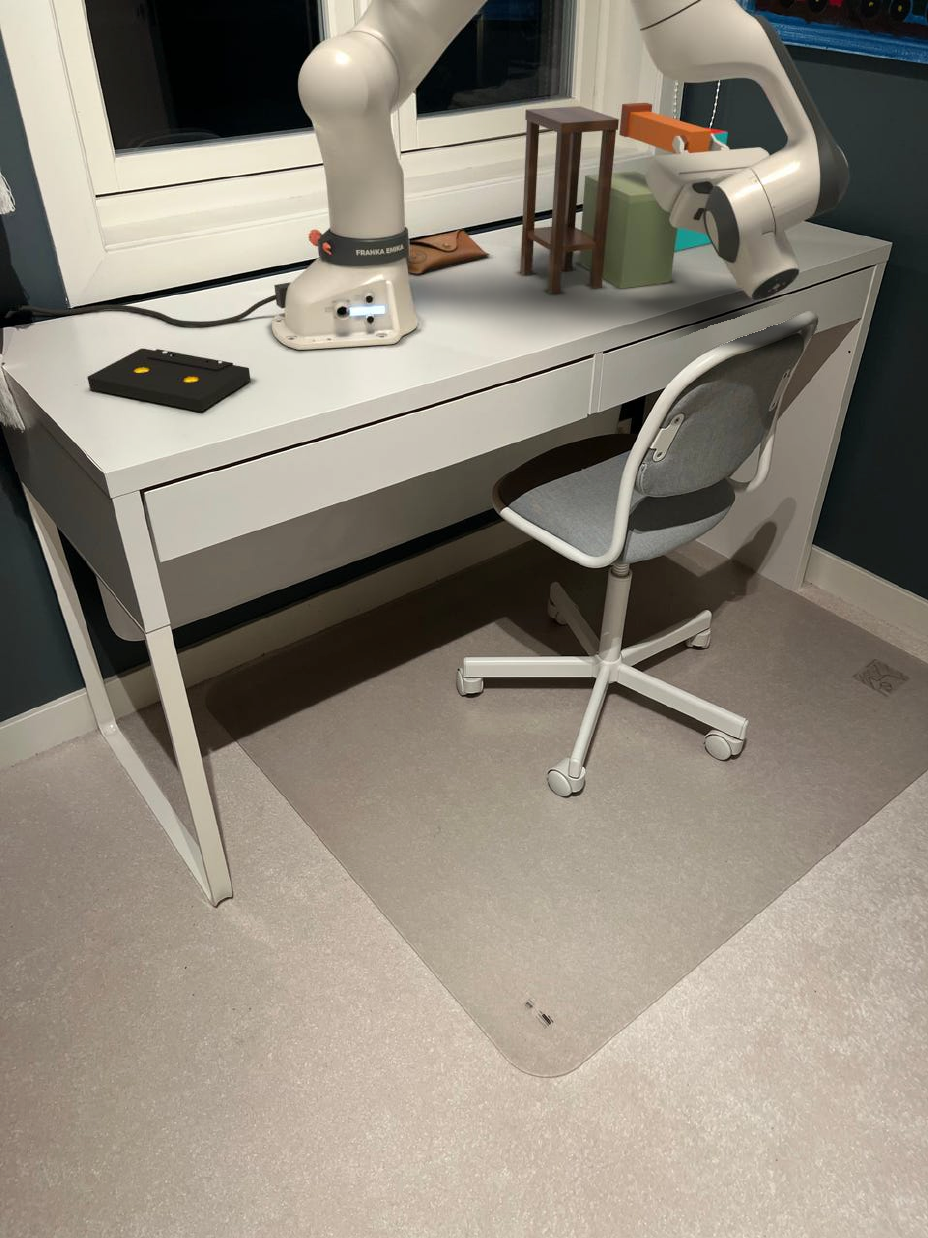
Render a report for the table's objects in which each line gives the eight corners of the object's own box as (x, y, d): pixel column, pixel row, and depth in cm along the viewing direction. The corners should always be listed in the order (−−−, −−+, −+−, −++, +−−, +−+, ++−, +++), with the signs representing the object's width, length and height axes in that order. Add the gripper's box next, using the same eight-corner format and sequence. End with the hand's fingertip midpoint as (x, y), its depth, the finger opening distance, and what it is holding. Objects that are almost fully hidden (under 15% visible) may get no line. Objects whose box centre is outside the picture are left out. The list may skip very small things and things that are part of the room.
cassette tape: (251, 381, 130) (249, 365, 129) (202, 413, 121) (199, 397, 120) (144, 360, 135) (141, 346, 134) (89, 390, 127) (85, 375, 126)
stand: (551, 294, 160) (561, 122, 145) (518, 272, 170) (525, 109, 154) (603, 287, 163) (619, 118, 148) (568, 266, 173) (580, 105, 157)
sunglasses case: (419, 273, 167) (406, 235, 166) (398, 286, 173) (385, 249, 171) (493, 254, 177) (481, 218, 175) (470, 266, 183) (459, 231, 181)
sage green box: (620, 288, 163) (630, 195, 154) (578, 263, 174) (585, 175, 165) (670, 282, 166) (682, 190, 157) (625, 257, 177) (635, 170, 168)
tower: (684, 158, 143) (689, 124, 140) (619, 134, 158) (621, 103, 155) (710, 156, 145) (715, 122, 142) (643, 133, 159) (646, 102, 157)
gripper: (798, 181, 140) (758, 115, 145) (679, 192, 134) (641, 123, 138) (777, 215, 145) (739, 150, 150) (662, 227, 139) (626, 160, 144)
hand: (691, 137), depth 144 cm, fingers closed on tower, 3 cm apart
